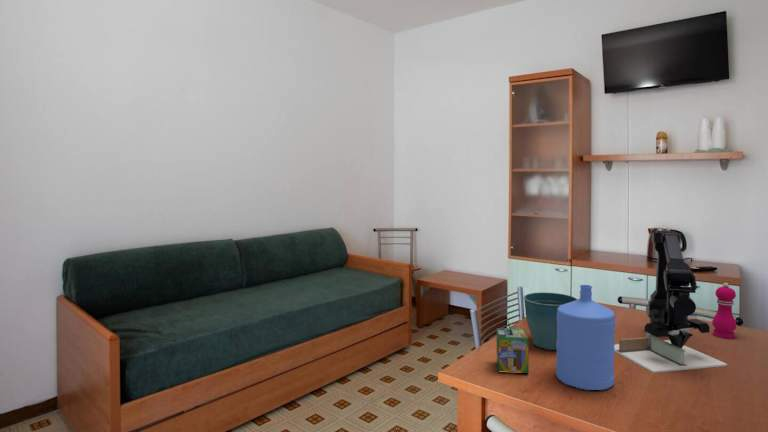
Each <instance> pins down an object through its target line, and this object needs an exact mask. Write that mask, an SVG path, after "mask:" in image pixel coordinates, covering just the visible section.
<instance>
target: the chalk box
mask: <svg viewBox="0 0 768 432" xmlns="http://www.w3.org/2000/svg"><path fill="white" fill-rule="evenodd" d="M506 320H507V319H506ZM507 323H508V327H506V328H505V327H502V328H501V327H499V328H498V327H497V328H496V332H495V333H496V359H495V361H497V363H496V367H498V369H497V371H498V370H499V371H507V372H521V373H529V372H530V370H529V369H530V368H529V367H530V365H529V364H530V363H529V360H530V359H529V337H528V334H527V332H526V329H524V328H511V324H510V321H509V320H507Z"/></svg>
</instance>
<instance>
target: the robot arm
mask: <svg viewBox="0 0 768 432" xmlns="http://www.w3.org/2000/svg"><path fill="white" fill-rule="evenodd" d="M650 241H651V243H652V246H653V248H654V249H655V251H656V253H657V257H656V258H657V259H656V275H655V276H656V277H655V290H654V291H653V292H652V293H651V294H650V297H649V300H648V301H647V306H646V315H647V317H648V318H649V322H647V323H645V325H644V332H646V333H649V334H651V335H653V337H657V338H665V337H668V340H670V341H671V344H672V345H675V346H677V347H679V348H681V349H682V347H683V346H684V345H685V344H686V343H687V342H688V341H689V339H690V338H691V337H693V333H690V330H698V332H700V333H701V334H707V333H708V334H709V333H710V325H709V323H708V322H705V321H703V320H700V319H698V318H690V319H689V316H691V315H693V314H694V313H695V311H697V306H696V303H695V301H694V300H693V299H692V298H691V296H690V294H691V293H692V294H695V293H696V290H697V288H698V286H697V285H698V284H697V281H696V276H695V275H694V272H693V271H691V267H690V265H689V263H687V262H685V261H684V258H683V257H684V256H683V254H682V249H681V245H680V244H681V243H682V234H681V233H680V232H677V231H675V230H657V229H656V230H655V232H652V233H651V240H650Z"/></svg>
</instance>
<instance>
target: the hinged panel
mask: <svg viewBox="0 0 768 432" xmlns="http://www.w3.org/2000/svg"><path fill="white" fill-rule="evenodd" d="M651 350H653V351H655V352H657V353H659V354H661V355H663V356H665V357H667V358H669V359H671V360H673V361H675V362H677V363H679V364H684V352H685V350H684V349H681V348H679V347H677V346H675V345H672V344H670V343H668V342H666V341H663V339H661V338H660V337H655V336H653V337H651Z"/></svg>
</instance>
